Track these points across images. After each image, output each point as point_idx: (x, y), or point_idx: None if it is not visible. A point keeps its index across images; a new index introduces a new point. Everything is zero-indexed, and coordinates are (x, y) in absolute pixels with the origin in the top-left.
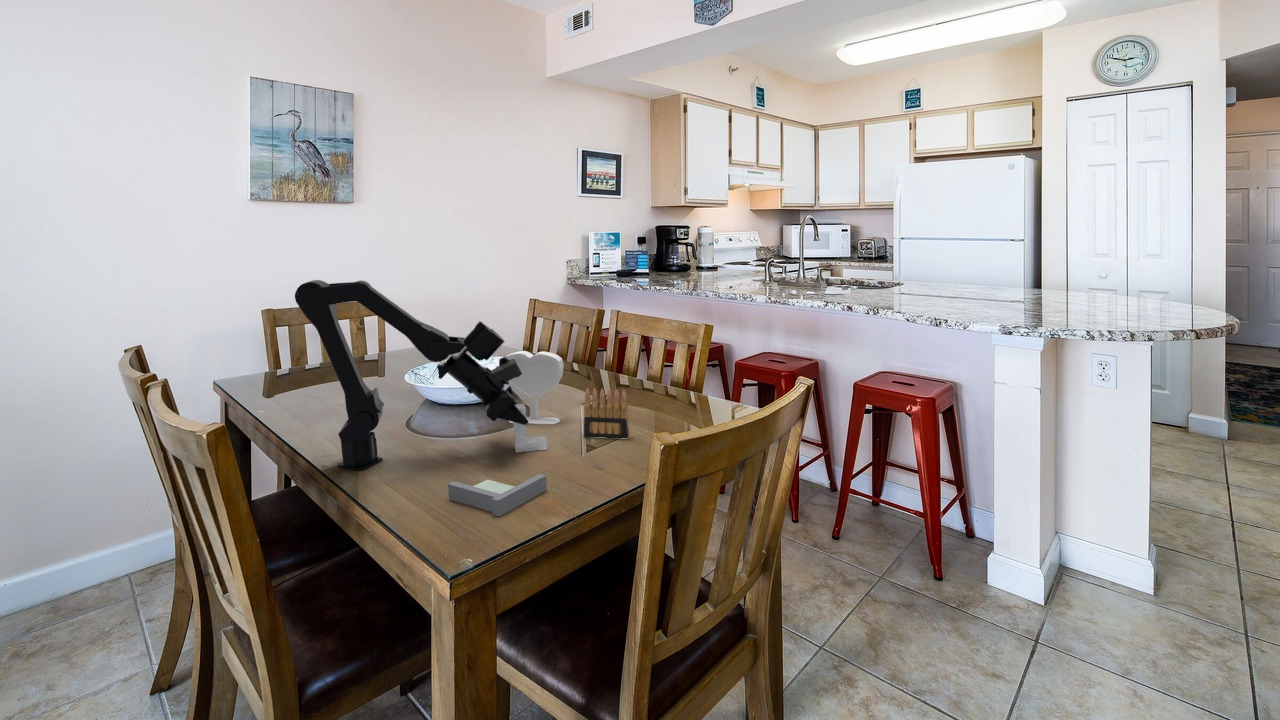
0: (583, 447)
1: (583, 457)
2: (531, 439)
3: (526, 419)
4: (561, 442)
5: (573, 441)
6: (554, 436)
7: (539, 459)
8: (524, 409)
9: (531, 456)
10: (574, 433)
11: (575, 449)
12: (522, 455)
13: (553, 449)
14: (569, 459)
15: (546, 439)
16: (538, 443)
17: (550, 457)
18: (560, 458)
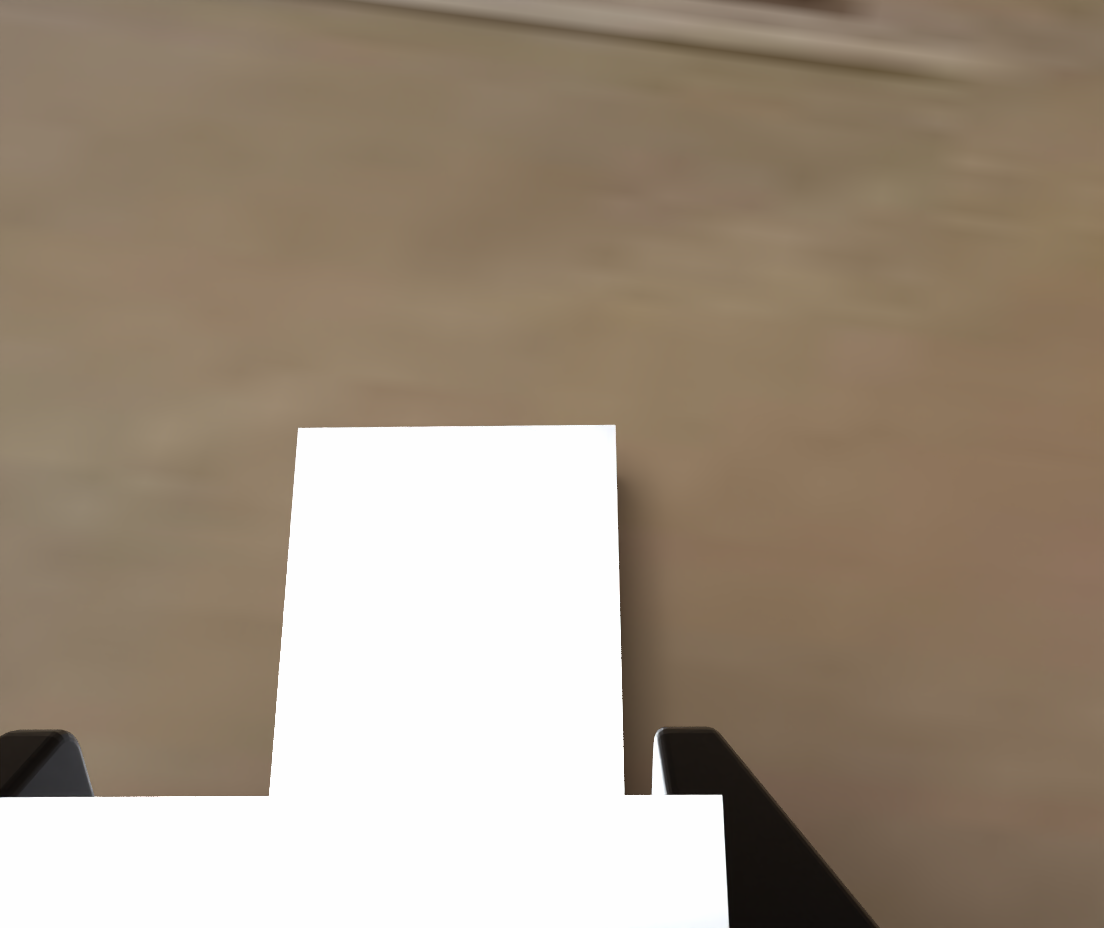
0: (642, 18)
1: (1032, 69)
2: (437, 692)
3: (763, 789)
4: (342, 247)
5: (356, 96)
6: (28, 306)
7: (1030, 643)
8: (725, 860)
9: (868, 756)
10: (20, 41)
11: (696, 116)
12: None
13: (619, 389)
14: (1086, 237)
15: (517, 427)
16: (618, 585)
17: (965, 472)
18: (1029, 343)
